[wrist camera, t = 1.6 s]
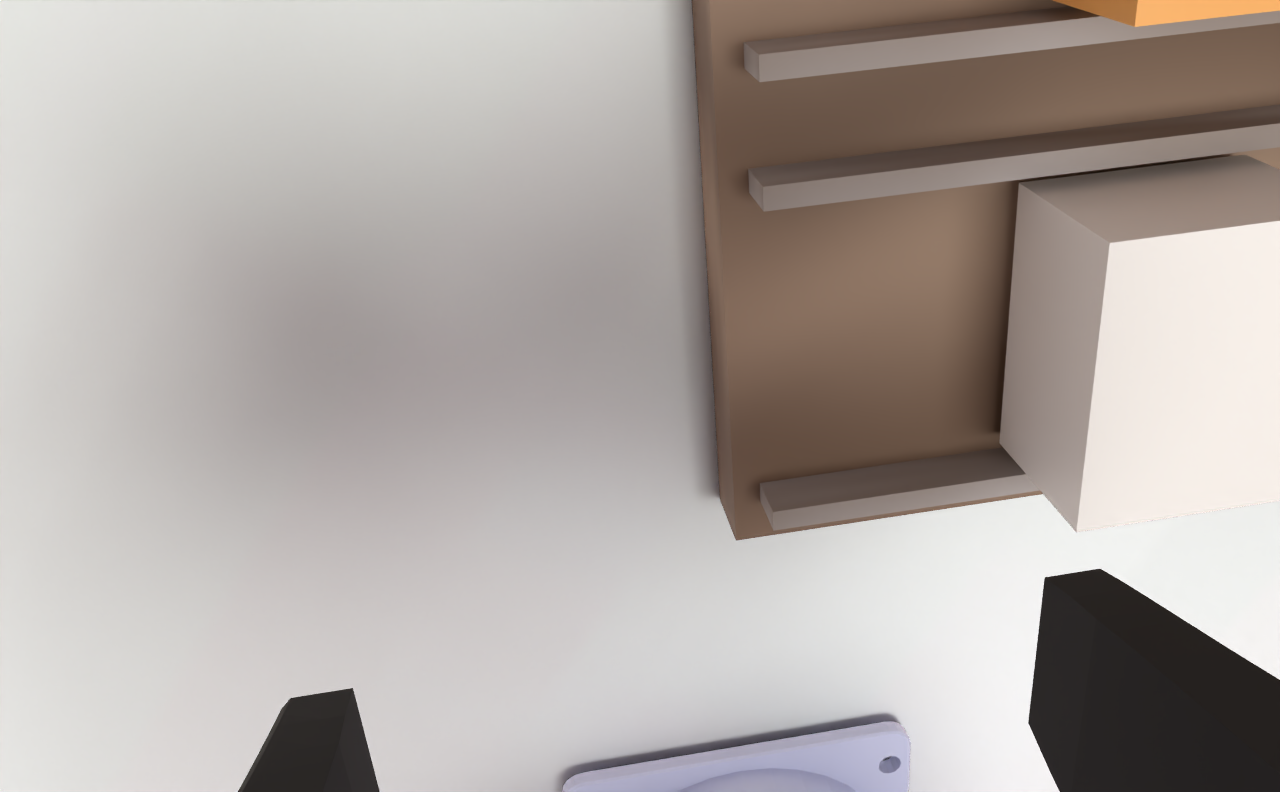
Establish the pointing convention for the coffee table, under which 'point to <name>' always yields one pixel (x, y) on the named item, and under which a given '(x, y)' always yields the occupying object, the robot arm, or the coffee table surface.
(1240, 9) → the orange slider
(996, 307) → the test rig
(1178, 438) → the white slider
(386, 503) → the coffee table surface
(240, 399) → the coffee table surface
